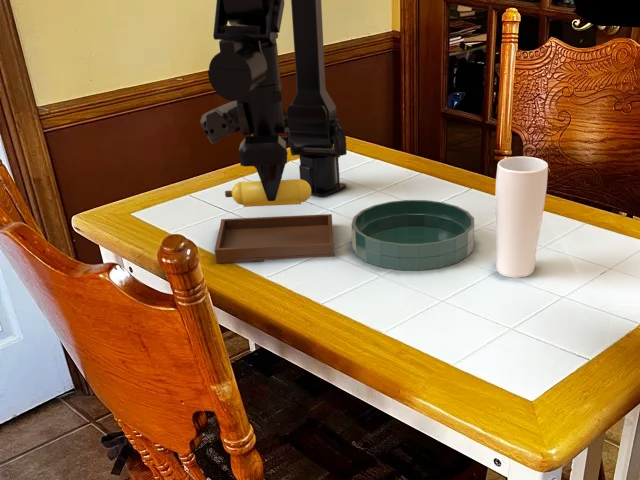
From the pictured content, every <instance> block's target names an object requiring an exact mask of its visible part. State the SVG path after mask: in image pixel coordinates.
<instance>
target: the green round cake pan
mask: <svg viewBox="0 0 640 480" xmlns="http://www.w3.org/2000/svg"><path fill="white" fill-rule="evenodd" d="M350 226H351V240H352V250H353V251H354V253H355V256H356V257H357V258H360V259H361V260H362V261H364V262H365V263H367V264H371V265H374V266H376V267H379V268H385V269H392V270H396V271H426V270H434V269H441V268H444V267H448V266H452V265H455V264H457V263H459V262H461V261H463V260H465V259H466V258H468V257H469V255H470V254H471V253H472V252H473V251H474V237H475V218H474V216H473V215H472V214H471V213H470V212H469V211H468V210H465V209H464V208H462V207H460V206H457V205H455V204H451V203H447V202H443V201H435V200H428V199H403V200H393V201H392V200H391V201H386V202H382V203H378V204H374V205H371V206H369V207H367V208H365V209H361V210H360V211H359V212H358V213H357V214H355V215H354V216H353V219H352V221H351V225H350Z"/></svg>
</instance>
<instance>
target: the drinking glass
mask: <svg viewBox="0 0 640 480" xmlns="http://www.w3.org/2000/svg"><path fill="white" fill-rule="evenodd" d="M496 166H497V167H496V175H495V191H494V193H495V194H494V195H495V196H494V198H495V199H494V200H495V201H494V202H495V231H496V233H495V234H496V235H495V237H496V265H495V266H496V268H495V269H496V271H497V272H498V273H499V275H501V276H503V277H507V278H513V279H520V278H526V277H529V276H530V275H532V274H533V273H534V271H535V267H536V256H537V251H538V250H537V249H538V243H539V238H540V232H541V226H542V221H543V215H544V210H545V205H546V199H547V190H548V180H549V179H548V178H549V177H548V176H549V163H548V162H547V161H545V160H544V159H541V158H538V157H533V156H523V155H522V156H511V157H505V158H502V159H501V160H499V161H498V162H497V165H496Z"/></svg>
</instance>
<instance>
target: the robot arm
mask: <svg viewBox="0 0 640 480" xmlns="http://www.w3.org/2000/svg"><path fill="white" fill-rule="evenodd" d="M215 4H216V5H215V14H214V15H215V16H214V25H213V35H212V36H213V40H214V41H218V45H219V46H218V47H219V52H217V53H216V54H215V55H214V56H213V57H212V58H211V60H210V63H209V65H208V70H207V77H208V81H209V83H210V85H211V88H212V89H213V90H214V92H215V93H216V94H217V95H218V96H220V98H223V99H224V100H227V101H230V102H227V103H225V104H222V105H219V106H218V107H216V108H212V109H211V110H209V111H207V112H205V113H204V114H202V116H201V118H200V120H199V122H200V125H201V126H202V129H203V131H202V132H203V135H204V136H206V137H207V139H208V140H209V142H210V144H212V145H214V144H217V143H219V142H221V140H222V139H224V138H226V137H229V136H231V135H233V134H236V133H238V132H239V135H240V137H243V136H245V137H244V138H243V140H242V141H241V142H240V144H239V148H238V155H239V156H238V158H239V165H240V166H241V167H254V168H255V169H256V172H257V174H258V178H259V181H261V183H262V186H263V188H264V191H265V194H266V197H267V200H268V201H275V200H276V196H277V192H278V189H279V185H280V181H281V180H282V178H283V174H284V171H285V167H286V165H287V164H288V155H289V154H288V153H289V152H288V145H289V150H290V155H291V156H299V165H298V168H299V169H298V171H299V179H302V180H305V181H306V182H308V183H309V185H310V187H311V195H313V196H315V197H316V196H317V197H321V198H323V197H326V196H328V195H331V194H333V193H337V192H338V191H341V190H344V189H346V188H347V184H346V183H343V182H340V179H341V178H340V163H339V158H340V157H341V156H346V155H347V153H348V152H347V151H348V150H347V136H346V134H345V132H344V128H343V126H342V124H341V122H340V119H338V113H337V106H336V104H335V102H334V100H333V99H332V98H331V96H330V94H329V92H328V91H327V89H326V88H327V87H326V71H325V52H324V51H325V49H324V32H323V31H324V30H323V29H324V28H323V9H322V7H323V6H322V0H290V4H291V20H292V33H293V34H292V36H293V49H294V50H293V52H294V64H295V65H294V66H295V80H296V81H295V82H296V93H295V95H294V97H293V100H292V102H291V103H290V104H289V105H288V108H287V110H285V109H284V104H283V85H282V82H281V72H280V62H279V53H278V43H277V39H278V38H279V33H280V31H281V26H282V20H283V14H284V9H285V0H216V3H215ZM228 23H229V25H228ZM285 133H286V136H280V134H285Z"/></svg>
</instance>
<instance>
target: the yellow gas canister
mask: <svg viewBox="0 0 640 480" xmlns="http://www.w3.org/2000/svg"><path fill="white" fill-rule="evenodd" d="M224 195H225V198H232V200H233V201H234V202H235V203H236V204H239V205H241V206H242V205H243V206H242V207H244V208H248V207H249V208H251V207H269V206H270V207H272V206H274V207H275V206H293V205H296V206H297V205H302V203H305V202H307V201H308V200H309V199H310V197H311V196H312V194H311V187H310V185H309V183H308V182H306V181H305V180H302V179H300V178H295V179H294V178H293V179H281V181H280V185H279V189H278V192H277V196H276V200H275V201H268V200H267V197H266V194H265V191H264V188H263V186H262V183H261V180H252V181H249V180H248V181H238V182H237V183H235V184H234V185H233V186H232V188H231V190H225V191H224Z"/></svg>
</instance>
